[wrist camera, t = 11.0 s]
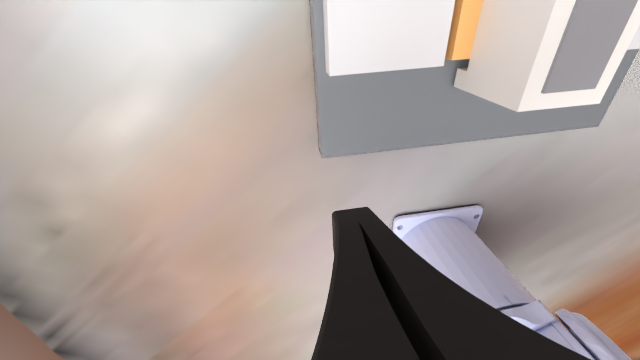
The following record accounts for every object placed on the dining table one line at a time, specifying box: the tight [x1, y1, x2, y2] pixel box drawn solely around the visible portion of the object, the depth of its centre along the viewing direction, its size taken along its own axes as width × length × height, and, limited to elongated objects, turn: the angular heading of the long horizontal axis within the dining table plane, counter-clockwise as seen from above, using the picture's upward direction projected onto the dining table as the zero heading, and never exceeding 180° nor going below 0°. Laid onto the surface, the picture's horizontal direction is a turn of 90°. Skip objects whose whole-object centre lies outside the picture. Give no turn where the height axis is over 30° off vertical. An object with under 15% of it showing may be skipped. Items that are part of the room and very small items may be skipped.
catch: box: [445, 0, 483, 60], centre depth 14 cm, size 3×6×1 cm, turn 93°
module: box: [454, 0, 640, 112], centre depth 12 cm, size 6×4×5 cm, turn 3°
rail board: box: [309, 0, 640, 158], centre depth 15 cm, size 14×20×3 cm
